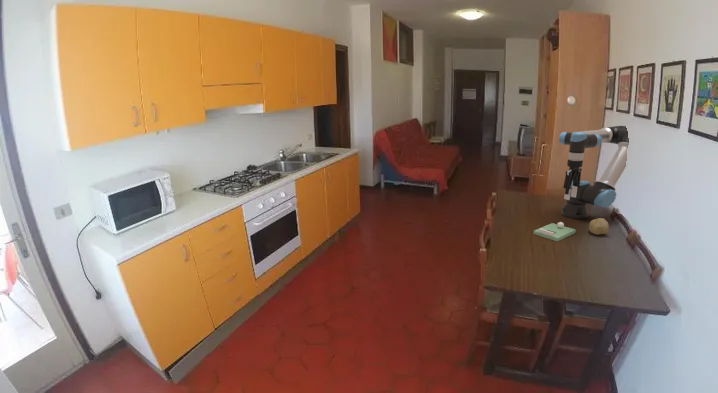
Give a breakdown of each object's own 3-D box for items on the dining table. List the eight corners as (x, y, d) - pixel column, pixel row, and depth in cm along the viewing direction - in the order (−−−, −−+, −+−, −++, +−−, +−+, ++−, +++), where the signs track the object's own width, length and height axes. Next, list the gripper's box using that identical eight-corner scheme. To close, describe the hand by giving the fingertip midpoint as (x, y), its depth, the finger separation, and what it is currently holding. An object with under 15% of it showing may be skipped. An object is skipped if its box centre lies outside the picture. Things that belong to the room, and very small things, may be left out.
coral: (617, 225, 203) (602, 219, 201) (606, 240, 206) (591, 234, 205) (606, 218, 211) (592, 212, 210) (596, 232, 215) (581, 226, 214)
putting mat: (551, 226, 223) (552, 219, 222) (575, 232, 212) (576, 226, 210) (533, 234, 212) (534, 227, 211) (557, 241, 201) (558, 234, 200)
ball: (558, 226, 217) (559, 220, 216) (564, 227, 214) (565, 222, 213) (555, 227, 215) (556, 221, 214) (561, 229, 212) (562, 223, 211)
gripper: (577, 156, 215) (571, 193, 222) (559, 161, 204) (554, 199, 211) (590, 158, 209) (585, 196, 216) (573, 163, 198) (568, 202, 205)
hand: (570, 198), depth 213 cm, fingers open, 7 cm apart
